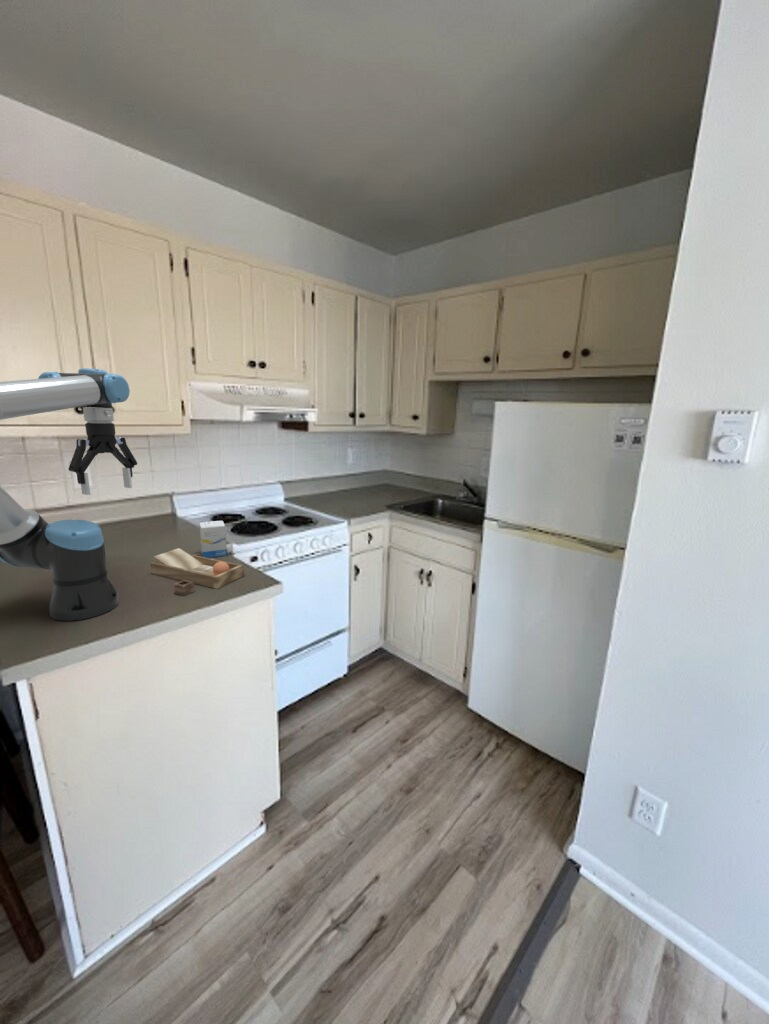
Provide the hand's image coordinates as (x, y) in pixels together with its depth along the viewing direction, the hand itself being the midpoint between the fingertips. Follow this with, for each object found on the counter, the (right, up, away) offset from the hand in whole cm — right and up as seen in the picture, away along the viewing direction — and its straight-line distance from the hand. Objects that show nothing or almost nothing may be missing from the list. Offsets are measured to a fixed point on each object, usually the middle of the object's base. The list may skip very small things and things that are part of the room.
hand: (108, 490), depth 135 cm
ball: (+36, -25, 0) cm, 44 cm away
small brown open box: (+28, -30, -9) cm, 43 cm away
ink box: (+24, -22, +25) cm, 41 cm away
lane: (+26, -27, +5) cm, 38 cm away
